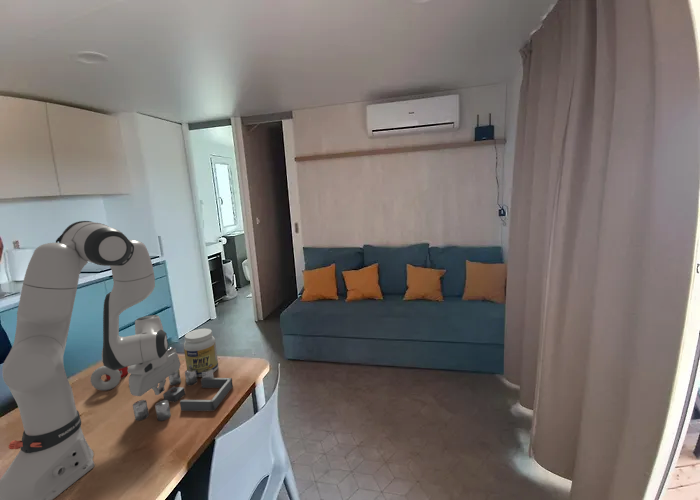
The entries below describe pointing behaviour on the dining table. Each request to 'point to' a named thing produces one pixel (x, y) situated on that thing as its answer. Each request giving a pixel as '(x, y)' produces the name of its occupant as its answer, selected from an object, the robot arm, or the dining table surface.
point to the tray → (209, 404)
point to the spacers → (163, 406)
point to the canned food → (122, 371)
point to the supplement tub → (200, 351)
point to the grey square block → (174, 394)
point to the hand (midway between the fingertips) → (159, 392)
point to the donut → (103, 385)
